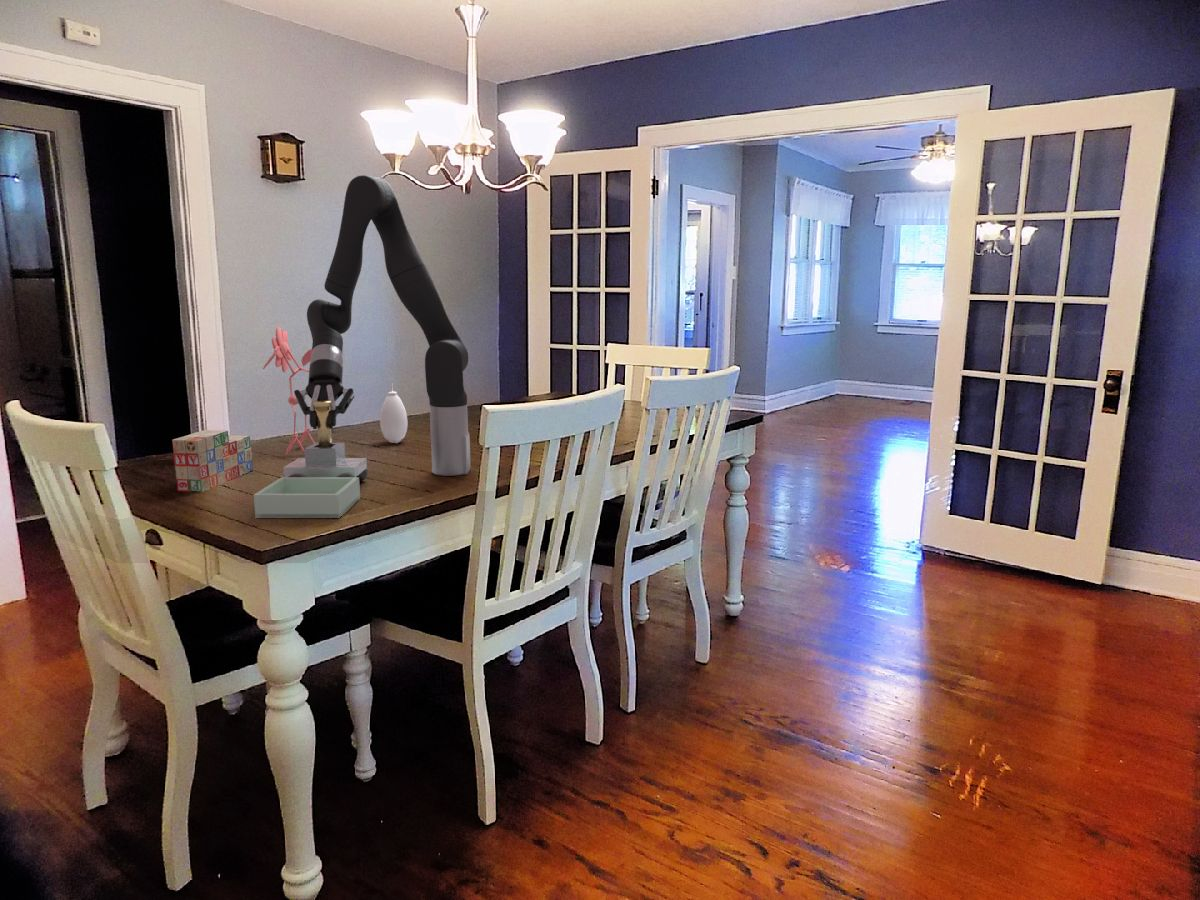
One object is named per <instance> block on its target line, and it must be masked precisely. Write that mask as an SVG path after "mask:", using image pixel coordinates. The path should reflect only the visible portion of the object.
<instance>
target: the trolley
mask: <svg viewBox="0 0 1200 900" xmlns="http://www.w3.org/2000/svg"><path fill="white" fill-rule="evenodd" d="M304 450H305V454H304V457H298V458H297V459H295V460H294V461H292V462H290V463H288V464H286V465H284V466H283V467H282V468H283V477H359V483H361V482H363V481H364V480H366V478H367V477H368V475H369V470H368V465H367V464H368V463H367V457H346V447H345V442H332V447H319V446H318V442H315V443H313V442H312V444H310V445H308V446H306V447H304Z"/></svg>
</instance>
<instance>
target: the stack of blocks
mask: <svg viewBox="0 0 1200 900" xmlns="http://www.w3.org/2000/svg"><path fill="white" fill-rule="evenodd" d="M171 441H172V450H173V463H174V468H175V469H174V470H175V476H176V477H175V478H176V479H175V480H176V488H177V489H176V490H177V492H191V491H197V492H196V493H203V492H206V491H208V490H210V488H211V489H214V488H215V486H216V487H218V486H220V484H221V485H223V484H225V483H227V482H226V481H228V480H230V481H232V480H234V479H233V478H235V477H237V476H239V477H241V476H240V475H242V474H244V473H247V472H249V471H251V470H253V471H254V467H253V453H252V446H251V437H250V435H231V434H229V430H222V429H220V430H219V429H218V430H217V429H212V430H211V429H204V430H200V431H196V432H193V433H191V434H188V435H184V436H180V437H178V438H174V439H172V440H171ZM249 473H250V472H249ZM247 474H248V473H247ZM244 475H245V474H244ZM242 476H243V475H242ZM237 478H238V477H237ZM231 479H232V480H231ZM235 479H236V478H235ZM224 482H225V483H224ZM228 482H229V481H228ZM222 483H223V484H222ZM217 485H218V486H217ZM213 487H214V488H213ZM205 490H206V491H205Z"/></svg>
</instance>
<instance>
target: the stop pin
mask: <svg viewBox="0 0 1200 900" xmlns="http://www.w3.org/2000/svg"><path fill="white" fill-rule="evenodd" d="M311 403H312V405H313V408H316V419H317V429H316V431H317V443H318V446H319V447H332V443H333V438H332V429H329V425H328V421H329V411H330V407H332V401H331V400H330V401H329V400H318V401H313V402H312V401H311Z"/></svg>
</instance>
